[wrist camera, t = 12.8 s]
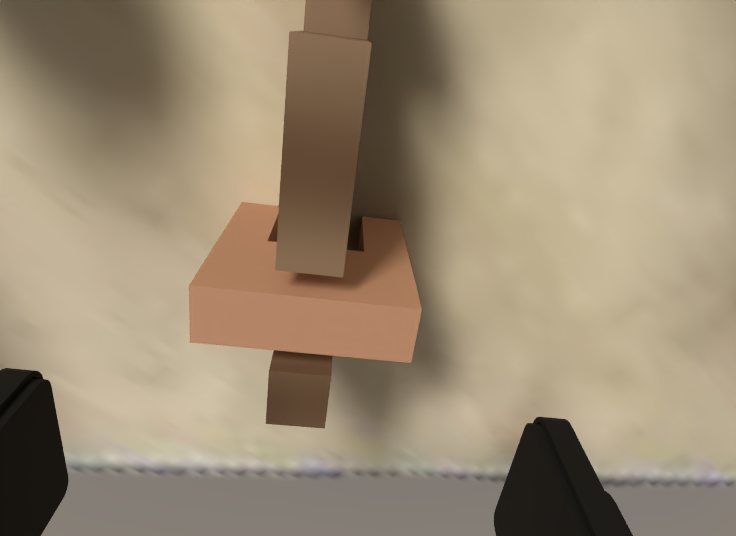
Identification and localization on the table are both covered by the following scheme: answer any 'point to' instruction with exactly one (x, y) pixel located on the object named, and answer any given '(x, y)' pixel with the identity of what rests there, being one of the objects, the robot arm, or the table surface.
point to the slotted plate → (306, 294)
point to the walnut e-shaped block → (318, 180)
